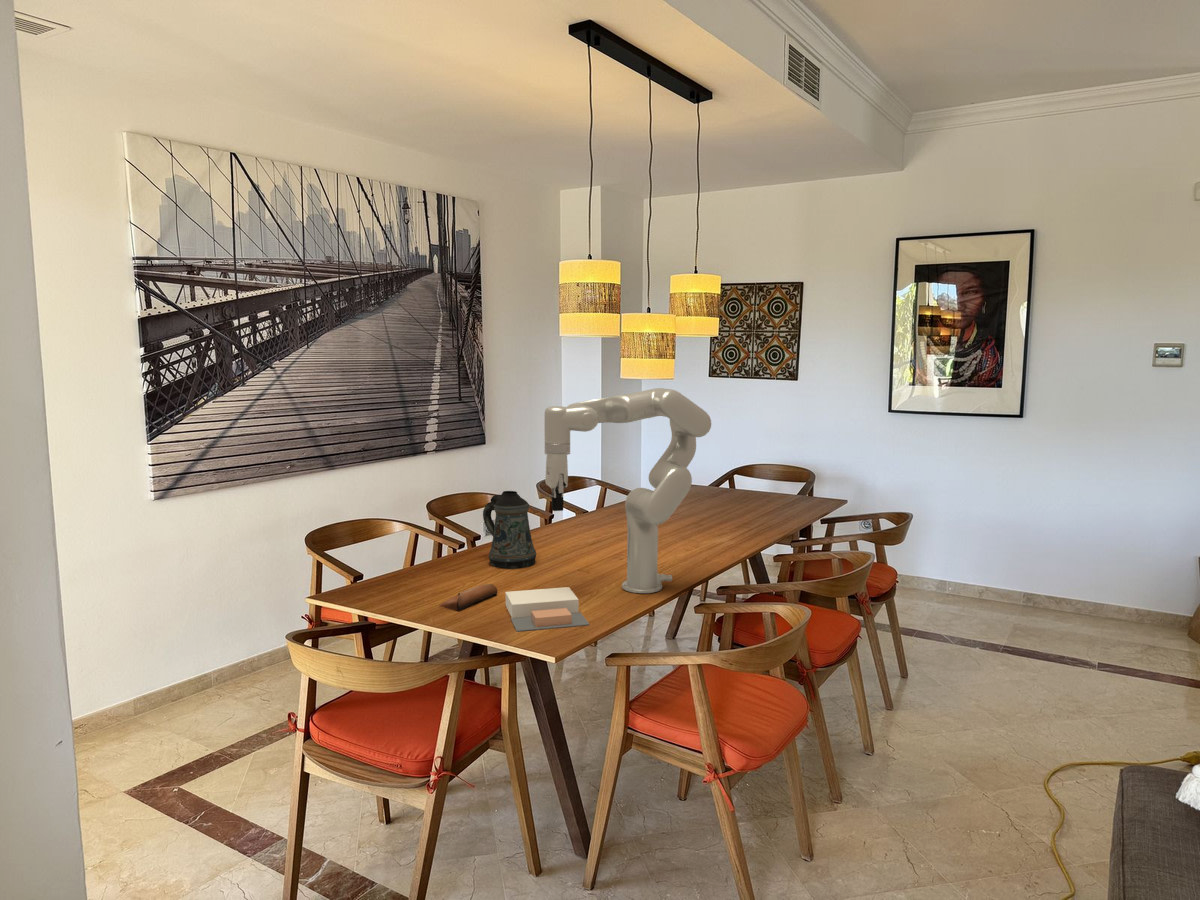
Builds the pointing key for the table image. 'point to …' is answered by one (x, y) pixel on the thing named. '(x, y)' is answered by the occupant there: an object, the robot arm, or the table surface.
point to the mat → (528, 625)
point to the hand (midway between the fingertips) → (557, 510)
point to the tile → (551, 617)
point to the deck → (540, 601)
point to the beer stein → (509, 532)
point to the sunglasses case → (470, 597)
